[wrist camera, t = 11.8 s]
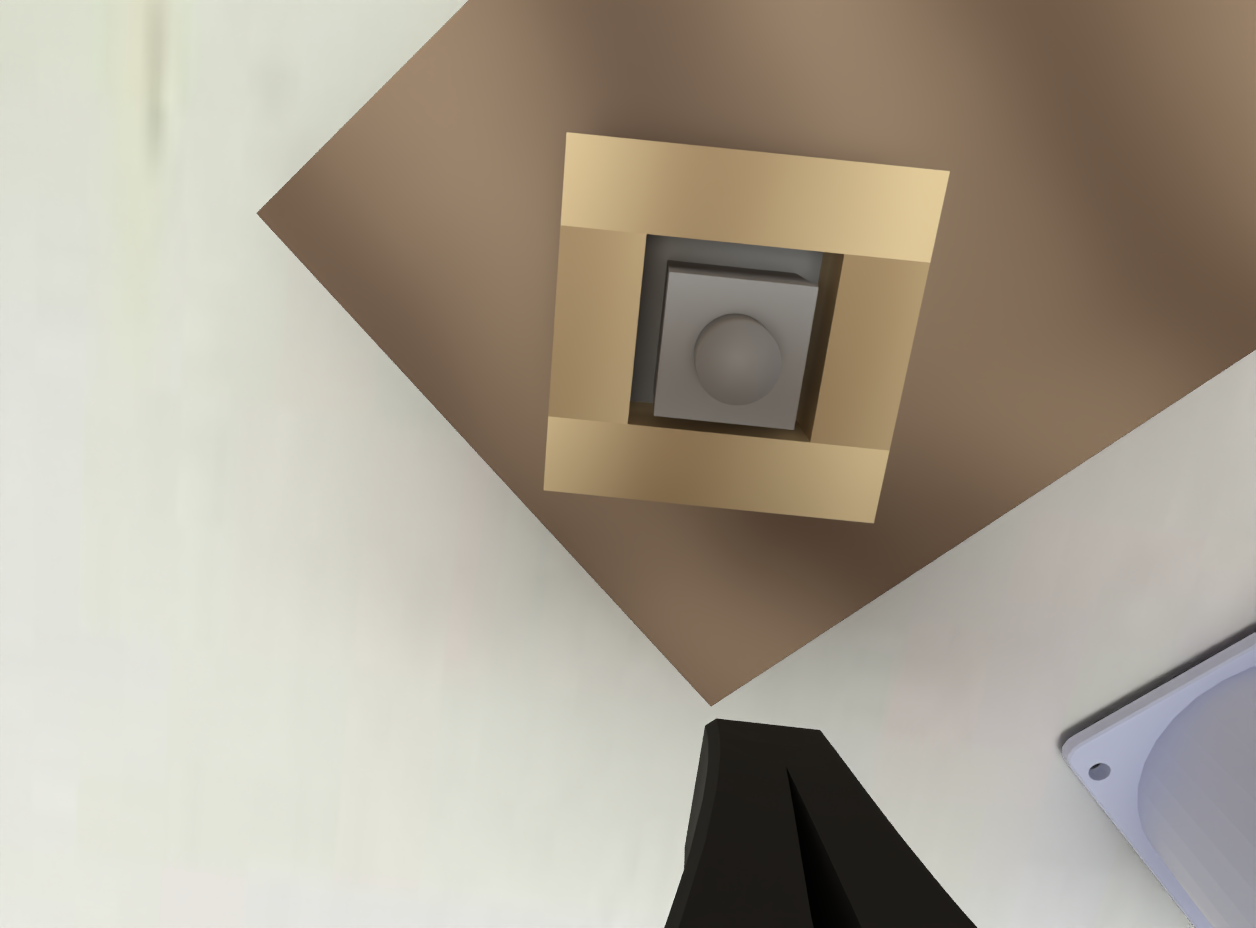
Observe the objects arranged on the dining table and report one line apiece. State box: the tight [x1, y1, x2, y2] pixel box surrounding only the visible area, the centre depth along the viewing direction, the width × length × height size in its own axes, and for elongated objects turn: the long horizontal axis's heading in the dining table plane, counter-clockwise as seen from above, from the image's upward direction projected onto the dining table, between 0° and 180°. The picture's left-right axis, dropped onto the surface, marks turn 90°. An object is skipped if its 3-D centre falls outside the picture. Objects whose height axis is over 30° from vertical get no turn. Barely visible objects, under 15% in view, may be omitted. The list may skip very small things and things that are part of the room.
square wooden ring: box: [544, 132, 950, 523], centre depth 13 cm, size 6×6×2 cm
